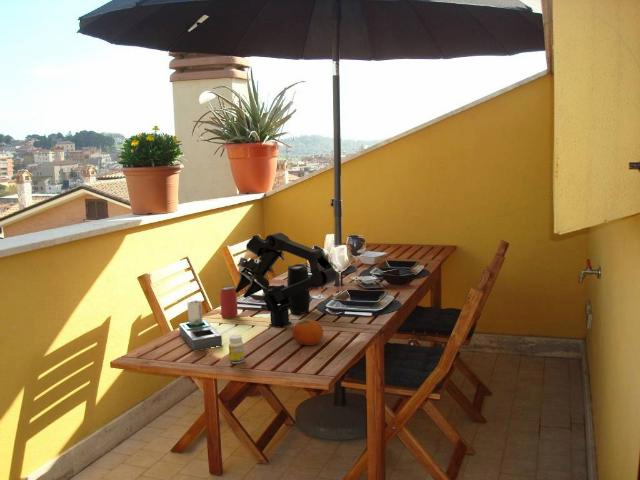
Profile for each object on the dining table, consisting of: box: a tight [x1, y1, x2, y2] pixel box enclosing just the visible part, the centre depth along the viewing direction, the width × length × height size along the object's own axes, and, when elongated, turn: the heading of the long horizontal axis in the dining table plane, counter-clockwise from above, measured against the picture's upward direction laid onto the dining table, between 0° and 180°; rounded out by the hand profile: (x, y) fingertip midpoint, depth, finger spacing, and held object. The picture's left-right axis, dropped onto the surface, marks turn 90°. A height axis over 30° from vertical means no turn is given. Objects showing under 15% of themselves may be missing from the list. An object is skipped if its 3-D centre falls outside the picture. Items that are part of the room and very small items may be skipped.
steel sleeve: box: [186, 299, 204, 328], centre depth 232 cm, size 5×5×13 cm
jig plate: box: [178, 319, 223, 351], centre depth 228 cm, size 22×10×4 cm, turn 25°
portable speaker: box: [286, 263, 311, 316], centre depth 257 cm, size 9×9×20 cm
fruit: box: [292, 319, 324, 346], centre depth 219 cm, size 11×10×8 cm
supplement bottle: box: [228, 334, 245, 364], centre depth 205 cm, size 5×5×8 cm
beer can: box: [219, 285, 239, 319], centre depth 256 cm, size 7×7×12 cm
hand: (239, 294), depth 237 cm, fingers open, 9 cm apart
